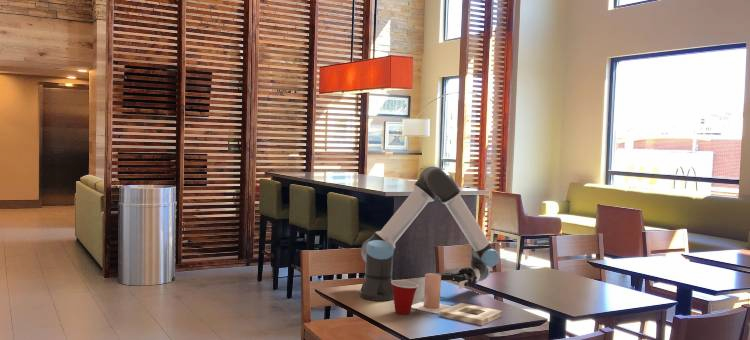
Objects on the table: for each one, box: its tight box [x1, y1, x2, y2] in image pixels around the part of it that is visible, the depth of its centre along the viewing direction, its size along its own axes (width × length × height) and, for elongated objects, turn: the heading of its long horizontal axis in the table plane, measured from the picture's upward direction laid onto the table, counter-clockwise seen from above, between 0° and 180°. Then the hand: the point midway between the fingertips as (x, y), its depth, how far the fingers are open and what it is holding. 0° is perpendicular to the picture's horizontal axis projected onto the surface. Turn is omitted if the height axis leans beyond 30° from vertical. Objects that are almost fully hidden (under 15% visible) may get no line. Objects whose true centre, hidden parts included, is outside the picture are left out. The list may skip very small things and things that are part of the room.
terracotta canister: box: [423, 272, 442, 309], centre depth 261 cm, size 6×6×13 cm
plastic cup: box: [391, 279, 419, 315], centre depth 252 cm, size 11×11×12 cm
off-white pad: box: [411, 300, 452, 315], centre depth 262 cm, size 14×14×1 cm
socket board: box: [439, 302, 503, 326], centre depth 251 cm, size 18×18×2 cm
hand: (445, 282), depth 270 cm, fingers open, 13 cm apart
